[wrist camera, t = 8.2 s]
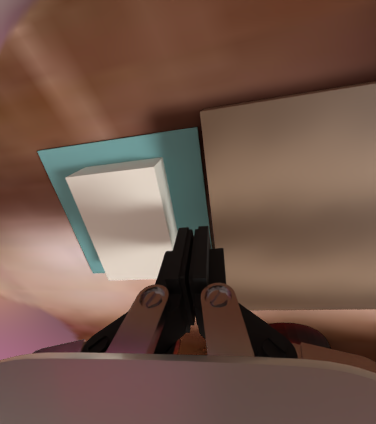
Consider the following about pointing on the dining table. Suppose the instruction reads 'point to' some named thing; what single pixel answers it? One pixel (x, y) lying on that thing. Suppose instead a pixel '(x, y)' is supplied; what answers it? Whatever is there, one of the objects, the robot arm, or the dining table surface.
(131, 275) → the cream rectangular block
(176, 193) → the mat
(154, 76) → the dining table surface
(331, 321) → the dining table surface
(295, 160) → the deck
